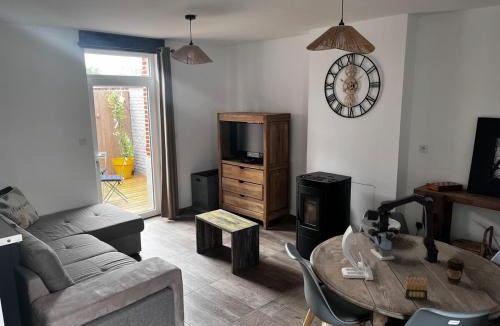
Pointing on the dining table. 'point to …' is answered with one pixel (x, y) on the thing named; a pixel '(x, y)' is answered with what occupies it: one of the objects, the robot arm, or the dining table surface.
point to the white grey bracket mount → (382, 252)
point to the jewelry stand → (356, 272)
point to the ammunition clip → (416, 289)
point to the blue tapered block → (384, 243)
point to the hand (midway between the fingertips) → (382, 244)
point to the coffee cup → (454, 270)
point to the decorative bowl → (368, 225)
